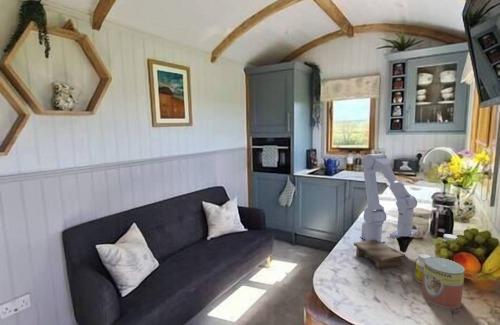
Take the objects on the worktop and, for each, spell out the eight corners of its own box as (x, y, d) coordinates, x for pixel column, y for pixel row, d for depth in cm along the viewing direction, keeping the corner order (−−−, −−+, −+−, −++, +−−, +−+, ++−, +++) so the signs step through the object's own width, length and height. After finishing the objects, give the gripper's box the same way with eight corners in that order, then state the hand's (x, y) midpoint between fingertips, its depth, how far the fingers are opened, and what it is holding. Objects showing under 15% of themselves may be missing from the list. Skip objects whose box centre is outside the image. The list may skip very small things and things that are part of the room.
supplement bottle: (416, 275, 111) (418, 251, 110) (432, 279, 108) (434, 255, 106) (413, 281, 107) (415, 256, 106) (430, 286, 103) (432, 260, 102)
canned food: (414, 292, 99) (416, 260, 98) (435, 285, 104) (438, 254, 102) (447, 312, 89) (451, 276, 88) (469, 303, 94) (473, 269, 92)
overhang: (353, 253, 130) (353, 242, 129) (374, 249, 134) (374, 239, 133) (381, 271, 114) (382, 259, 113) (404, 266, 118) (405, 254, 117)
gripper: (399, 227, 120) (397, 257, 122) (425, 223, 125) (422, 252, 127) (386, 222, 127) (385, 251, 129) (411, 218, 132) (409, 246, 134)
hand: (402, 251), depth 128 cm, fingers closed
